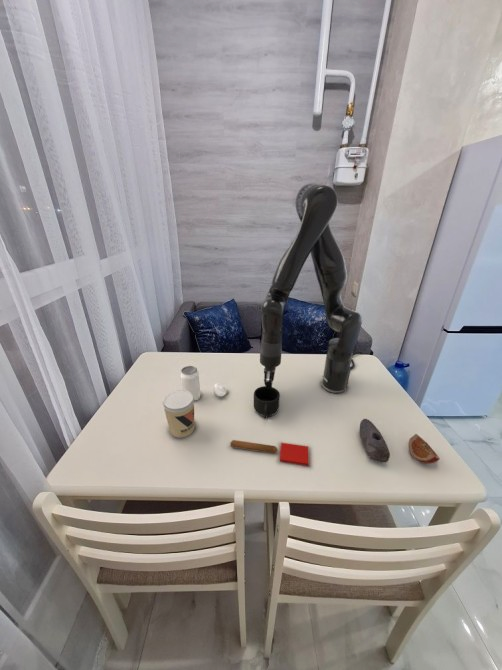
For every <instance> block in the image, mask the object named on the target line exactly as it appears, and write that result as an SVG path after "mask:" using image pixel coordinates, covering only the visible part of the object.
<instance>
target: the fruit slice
mask: <svg viewBox="0 0 502 670" xmlns="http://www.w3.org/2000/svg"><path fill="white" fill-rule="evenodd" d="M408 449H409V453H410V454H411V456H412V457H413V458H414V459H415V460H416V461H418V462H420V463H423V464H434V463H437V462H438V461H439V460H440V457H439V455H438V454H437V453H436V452H435V450H434V449H433V448H432V447H431V445H430V444H428V442H427V441H425V439H423V438H422V437H421V436H420V435H418V433H415V434H414V435H412V436H411V437H410V438H409V441H408Z"/></svg>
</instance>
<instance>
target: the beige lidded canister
mask: <svg viewBox="0 0 502 670" xmlns="http://www.w3.org/2000/svg"><path fill="white" fill-rule="evenodd" d="M162 407H163V410H164V413H165V418H166V421H167V425H168V429H169V432H170V434H171V436H173V437H175V438H177V439H178V438H181V439H182V438H185V437H188V436H189V435H191V434H192V433H193V432H194V430H195V401H194V396H193V395H192V394H191V393H190V392H188V391H184V390H182V389H180V390H179V389H178V390H175V391H172V392H170V393H168V394H166V396H165V397H164V399H163V401H162Z"/></svg>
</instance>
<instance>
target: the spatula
mask: <svg viewBox="0 0 502 670" xmlns="http://www.w3.org/2000/svg"><path fill="white" fill-rule="evenodd" d="M230 446H231V447H232V448H234V449H242V450H248V451H255V452H262V453H269V454H276V453H277V452H278V447H277V446H276V445H271V444H265V443H264V444H263V443H256V442H252V441H251V442H249V441H242V440H236V439H232V440H231V441H230ZM309 457H310V456H309V446H307V445H301V444H294V443H287V442H281V443H280V454H279V462H280V463H286V464H293V465H300V466H304V467H305V466H306V467H309V465H310V462H309V460H310V459H309Z"/></svg>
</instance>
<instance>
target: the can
mask: <svg viewBox="0 0 502 670" xmlns="http://www.w3.org/2000/svg"><path fill="white" fill-rule="evenodd" d="M180 383H181V390H184V391H188V392H190V393H191V394H192V395H193V396H194V402H196V401H198V400H199V399H200V398H201V384H200V383H201V382H200V373H199V371H198V368H197V366H194V365H187V366H184V367H183V368H181V370H180Z"/></svg>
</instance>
